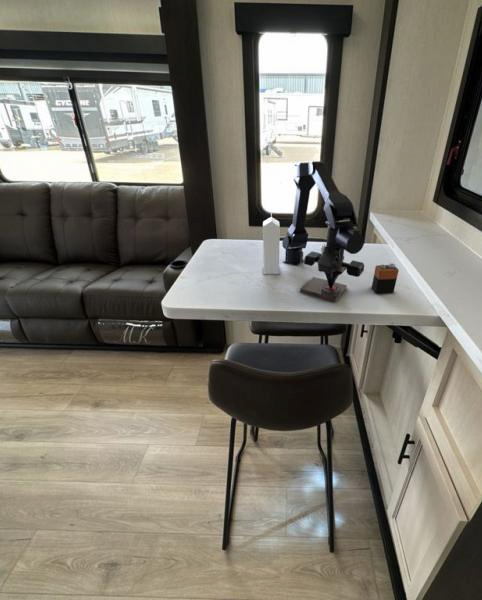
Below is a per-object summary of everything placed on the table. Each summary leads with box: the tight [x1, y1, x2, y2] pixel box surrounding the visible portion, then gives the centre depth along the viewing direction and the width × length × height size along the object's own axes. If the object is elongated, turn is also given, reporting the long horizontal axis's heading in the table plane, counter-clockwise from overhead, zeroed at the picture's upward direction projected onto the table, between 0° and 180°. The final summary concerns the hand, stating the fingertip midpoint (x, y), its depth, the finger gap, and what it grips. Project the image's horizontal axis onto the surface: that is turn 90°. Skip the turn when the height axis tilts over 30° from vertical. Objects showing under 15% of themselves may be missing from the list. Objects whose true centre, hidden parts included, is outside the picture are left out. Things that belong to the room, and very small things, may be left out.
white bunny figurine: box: [318, 243, 326, 255], centre depth 129 cm, size 5×7×8 cm
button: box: [325, 285, 336, 290], centre depth 102 cm, size 4×4×2 cm
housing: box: [299, 276, 348, 303], centre depth 106 cm, size 13×12×4 cm
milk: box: [262, 214, 281, 275], centre depth 114 cm, size 6×6×22 cm
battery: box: [371, 263, 399, 295], centre depth 106 cm, size 4×7×10 cm, turn 99°
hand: (330, 287), depth 102 cm, fingers closed, pressing on button
